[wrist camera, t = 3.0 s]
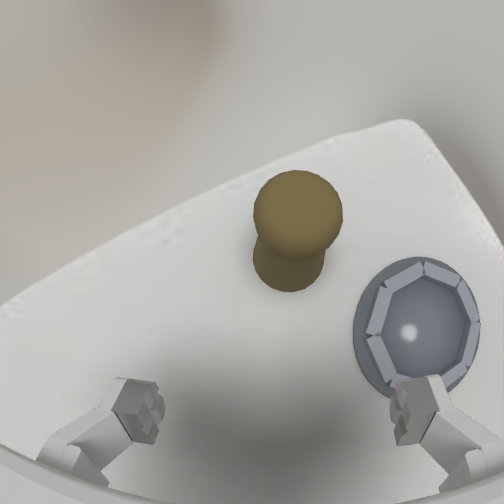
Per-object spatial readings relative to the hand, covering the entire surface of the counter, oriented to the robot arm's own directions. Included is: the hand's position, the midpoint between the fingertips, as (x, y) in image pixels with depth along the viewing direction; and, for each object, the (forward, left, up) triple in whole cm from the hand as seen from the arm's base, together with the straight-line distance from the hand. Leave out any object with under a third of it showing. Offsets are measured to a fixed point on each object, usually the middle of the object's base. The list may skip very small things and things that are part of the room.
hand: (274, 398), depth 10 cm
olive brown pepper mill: (+8, -5, -16) cm, 19 cm away
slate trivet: (-3, -13, -16) cm, 21 cm away
